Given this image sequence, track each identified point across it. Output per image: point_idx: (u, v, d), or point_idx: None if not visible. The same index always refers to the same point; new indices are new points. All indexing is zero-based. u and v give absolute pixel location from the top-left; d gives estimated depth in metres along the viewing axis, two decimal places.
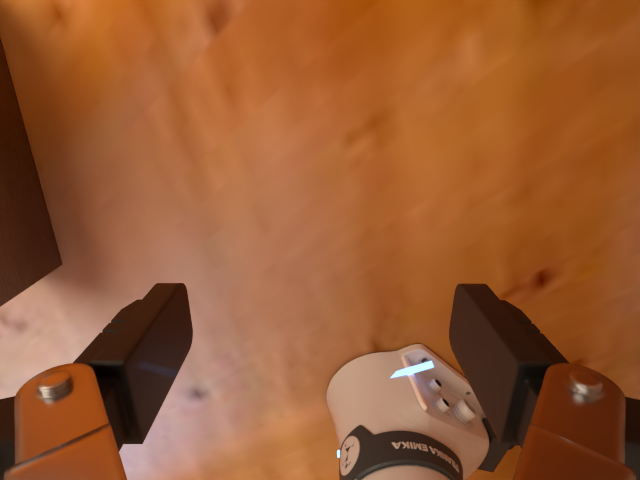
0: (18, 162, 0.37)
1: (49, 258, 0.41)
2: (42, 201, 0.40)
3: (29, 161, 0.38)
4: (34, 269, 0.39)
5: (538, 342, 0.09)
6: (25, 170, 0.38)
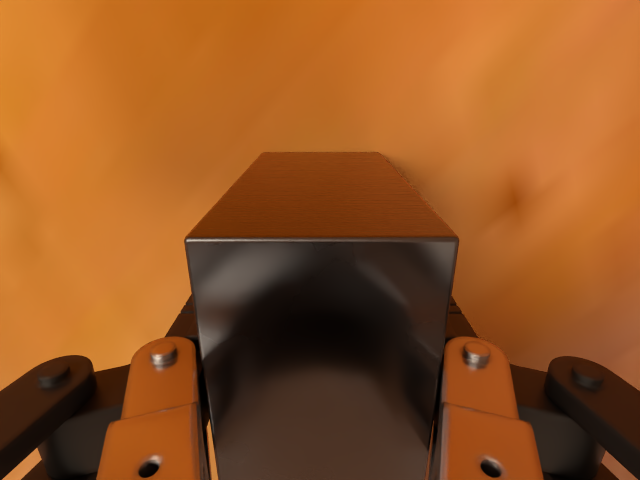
0: None
1: None
2: None
3: None
4: None
5: (456, 321, 0.10)
6: None
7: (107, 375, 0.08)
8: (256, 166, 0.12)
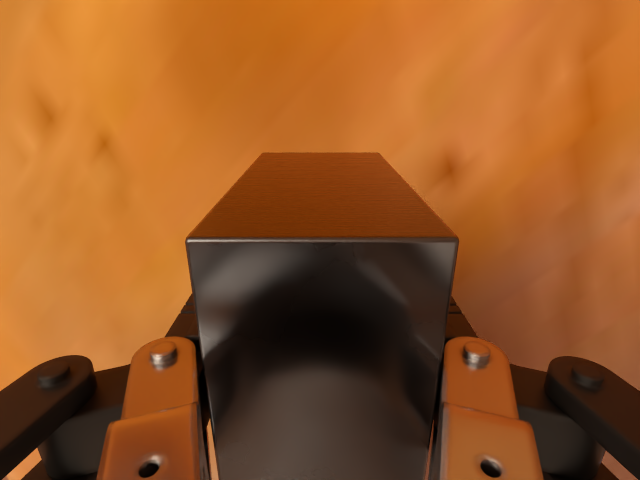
0: None
1: None
2: None
3: None
4: None
5: (456, 321, 0.10)
6: None
7: (107, 375, 0.08)
8: (256, 166, 0.12)
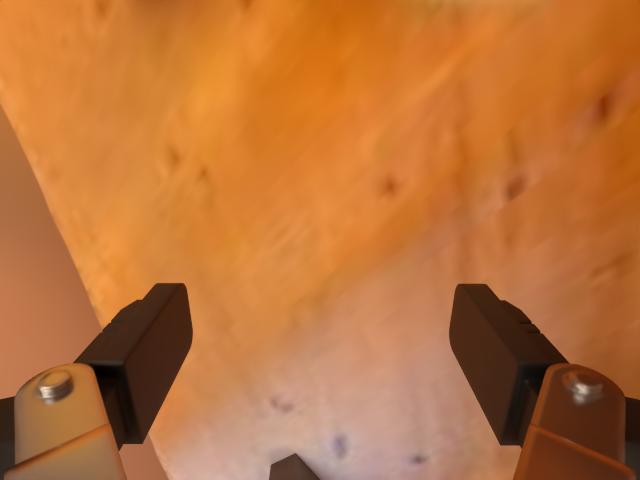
0: None
1: None
2: None
3: None
4: None
5: (538, 342, 0.09)
6: None
7: None
8: None
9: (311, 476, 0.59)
